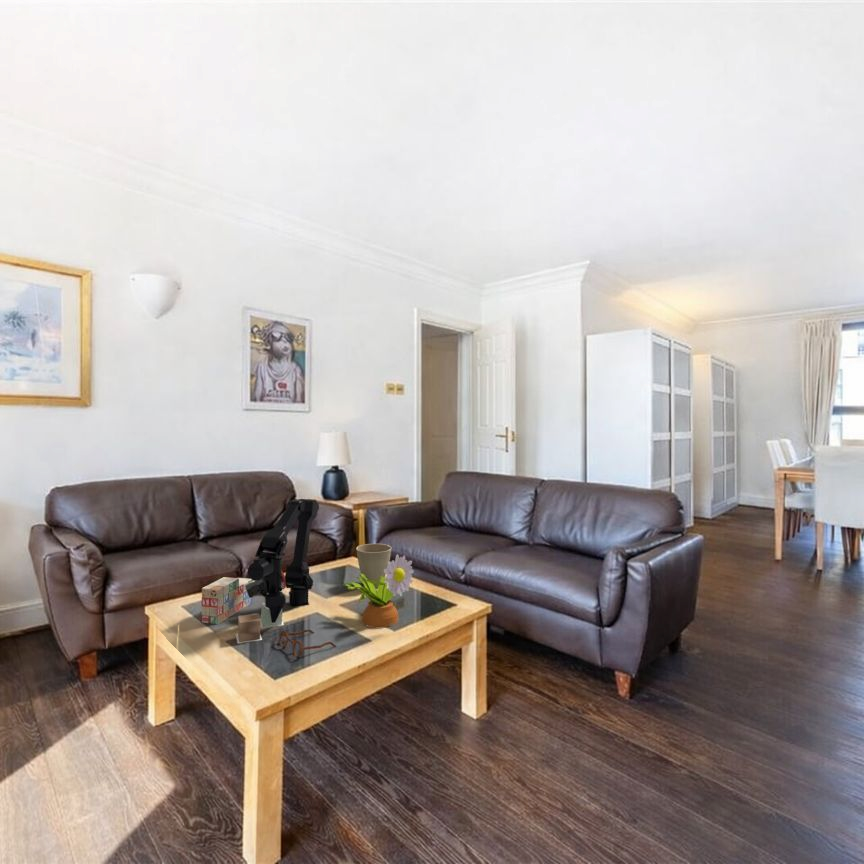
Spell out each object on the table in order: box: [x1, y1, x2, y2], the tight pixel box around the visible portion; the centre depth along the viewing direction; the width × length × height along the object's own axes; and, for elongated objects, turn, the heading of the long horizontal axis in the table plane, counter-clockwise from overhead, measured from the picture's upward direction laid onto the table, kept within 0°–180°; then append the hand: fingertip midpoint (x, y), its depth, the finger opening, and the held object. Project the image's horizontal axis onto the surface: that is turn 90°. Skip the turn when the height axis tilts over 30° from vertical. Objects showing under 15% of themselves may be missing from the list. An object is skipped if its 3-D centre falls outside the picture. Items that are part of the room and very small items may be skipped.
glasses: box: [278, 629, 338, 659], centre depth 152 cm, size 13×13×5 cm
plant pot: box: [355, 543, 392, 588], centre depth 210 cm, size 15×15×16 cm
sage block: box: [260, 602, 283, 628], centre depth 167 cm, size 6×6×6 cm
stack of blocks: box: [200, 576, 253, 625], centre depth 176 cm, size 21×6×12 cm, turn 169°
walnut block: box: [237, 612, 261, 643], centre depth 156 cm, size 6×6×6 cm
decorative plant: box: [342, 553, 415, 628], centre depth 175 cm, size 27×24×25 cm
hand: (271, 617), depth 167 cm, fingers open, 9 cm apart
